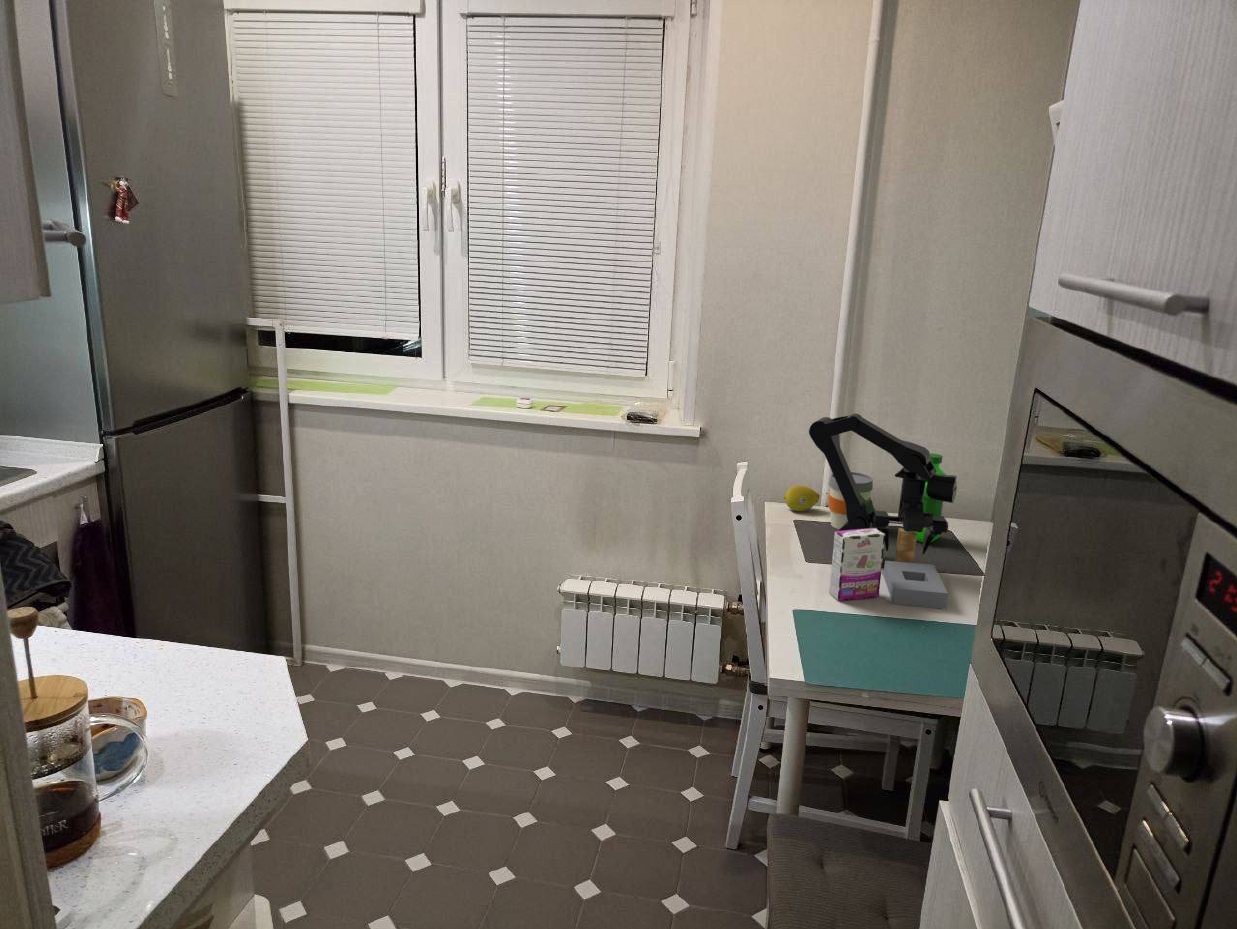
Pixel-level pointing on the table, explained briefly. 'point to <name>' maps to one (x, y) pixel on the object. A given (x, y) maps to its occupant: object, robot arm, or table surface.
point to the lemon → (801, 498)
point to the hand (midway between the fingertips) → (904, 552)
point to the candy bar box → (857, 564)
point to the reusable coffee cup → (837, 499)
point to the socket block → (915, 584)
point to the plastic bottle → (931, 504)
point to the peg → (905, 546)
